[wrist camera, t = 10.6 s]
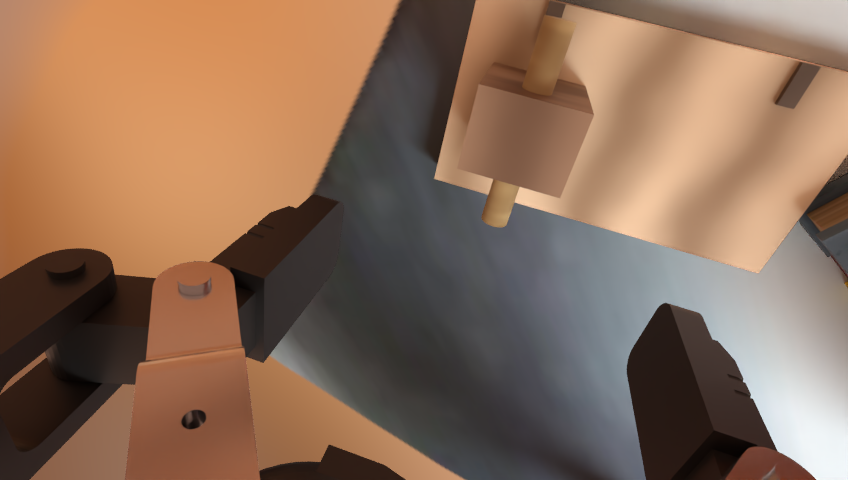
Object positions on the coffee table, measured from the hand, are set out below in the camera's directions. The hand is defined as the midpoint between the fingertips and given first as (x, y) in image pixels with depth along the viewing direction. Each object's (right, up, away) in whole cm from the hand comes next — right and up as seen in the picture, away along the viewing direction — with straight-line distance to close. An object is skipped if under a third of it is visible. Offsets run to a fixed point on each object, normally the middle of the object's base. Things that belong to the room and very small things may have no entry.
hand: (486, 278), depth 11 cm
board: (+10, +7, +15) cm, 20 cm away
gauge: (+4, +8, +14) cm, 17 cm away
